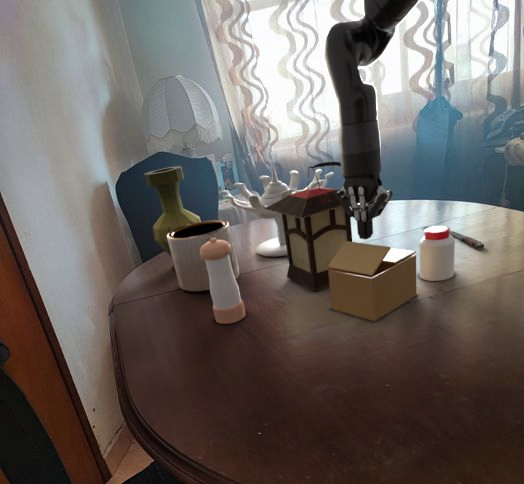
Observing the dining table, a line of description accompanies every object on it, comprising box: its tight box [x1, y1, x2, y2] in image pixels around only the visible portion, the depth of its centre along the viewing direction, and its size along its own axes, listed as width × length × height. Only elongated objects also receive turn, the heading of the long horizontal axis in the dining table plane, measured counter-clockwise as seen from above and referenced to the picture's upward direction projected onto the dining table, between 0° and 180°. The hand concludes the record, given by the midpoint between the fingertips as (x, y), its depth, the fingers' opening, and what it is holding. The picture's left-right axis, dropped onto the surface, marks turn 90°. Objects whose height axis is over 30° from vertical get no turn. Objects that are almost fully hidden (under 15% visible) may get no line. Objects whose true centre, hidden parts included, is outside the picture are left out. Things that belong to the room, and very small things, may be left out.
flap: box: [328, 241, 392, 276], centre depth 96 cm, size 7×12×1 cm
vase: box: [144, 165, 202, 271], centre depth 146 cm, size 16×16×30 cm
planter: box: [167, 219, 240, 293], centre depth 131 cm, size 18×18×16 cm
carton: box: [328, 247, 418, 322], centre depth 101 cm, size 15×12×10 cm
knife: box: [424, 226, 485, 249], centre depth 132 cm, size 28×1×5 cm
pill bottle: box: [418, 225, 456, 282], centre depth 108 cm, size 8×8×11 cm
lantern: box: [265, 161, 353, 292], centre depth 116 cm, size 18×26×30 cm
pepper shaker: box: [200, 238, 246, 325], centre depth 105 cm, size 7×7×19 cm
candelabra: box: [219, 162, 334, 258], centre depth 144 cm, size 34×35×27 cm
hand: (365, 237), depth 95 cm, fingers closed
